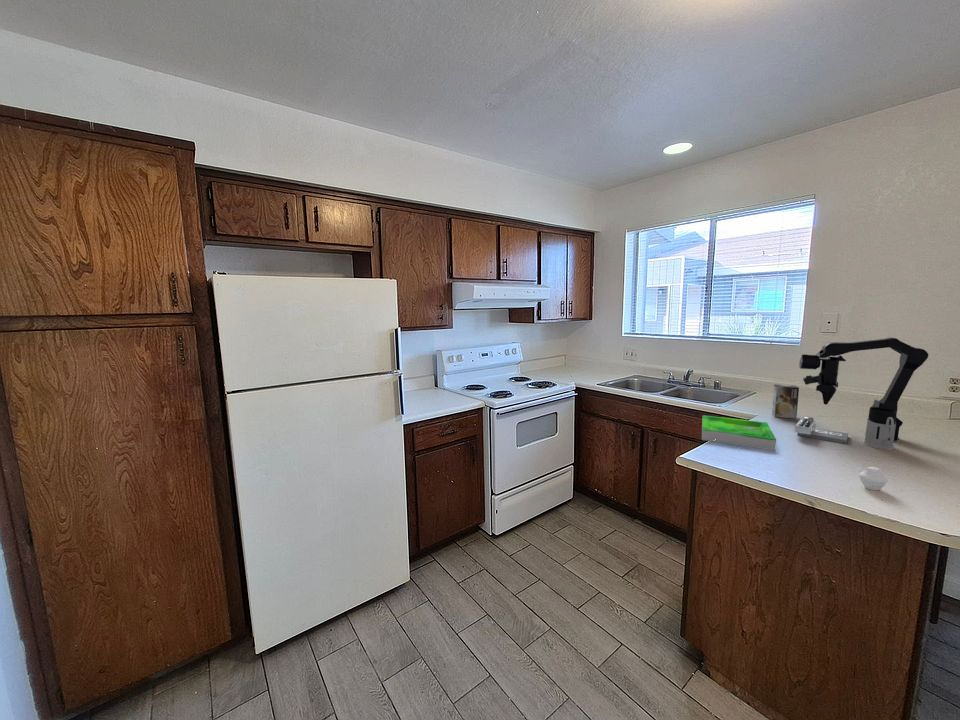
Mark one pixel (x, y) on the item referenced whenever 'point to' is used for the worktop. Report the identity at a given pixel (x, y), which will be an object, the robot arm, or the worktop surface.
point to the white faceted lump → (873, 478)
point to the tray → (738, 432)
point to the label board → (827, 435)
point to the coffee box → (785, 401)
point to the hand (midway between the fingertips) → (825, 404)
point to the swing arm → (805, 425)
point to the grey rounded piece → (880, 428)
